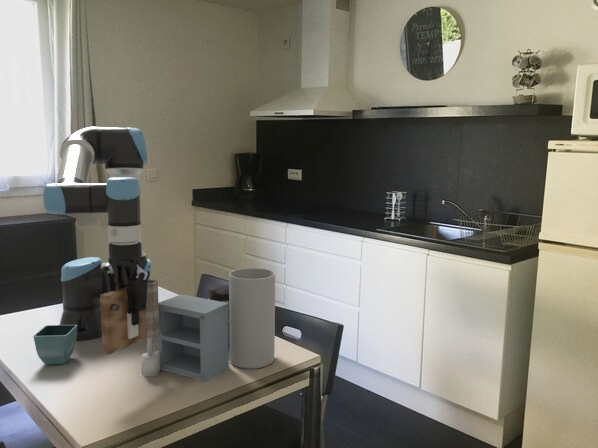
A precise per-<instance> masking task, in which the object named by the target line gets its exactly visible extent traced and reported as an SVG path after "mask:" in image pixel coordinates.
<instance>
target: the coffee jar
mask: <svg viewBox="0 0 598 448" xmlns="http://www.w3.org/2000/svg"><path fill="white" fill-rule="evenodd" d="M207 299H209V300H214V301H220V302H225V303H228V329H229V284H222V285H215V286H209V288H208V293H207ZM229 349H230V340H229Z"/></svg>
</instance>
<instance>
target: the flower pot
mask: <svg viewBox="0 0 598 448" xmlns="http://www.w3.org/2000/svg"><path fill="white" fill-rule="evenodd" d="M76 338H77V325H60V324H57V325H56V324H52V325H51V324H50V325H48V324H47V325H45V326H43V327H42V328H41V329H39V331H37V332H36V333H35V334H33V341H34V345H35V349H36V354H37V356H38V358H39V359H40V360H41V362H42V363H43V364H45V365H64V364H65V363H67V362H68V360H69V359H70V358H71V357H72V354H73V353H74V349H75V347H76V343H77V340H76Z"/></svg>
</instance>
